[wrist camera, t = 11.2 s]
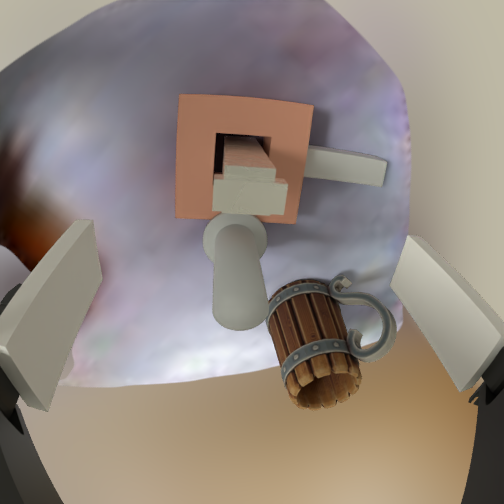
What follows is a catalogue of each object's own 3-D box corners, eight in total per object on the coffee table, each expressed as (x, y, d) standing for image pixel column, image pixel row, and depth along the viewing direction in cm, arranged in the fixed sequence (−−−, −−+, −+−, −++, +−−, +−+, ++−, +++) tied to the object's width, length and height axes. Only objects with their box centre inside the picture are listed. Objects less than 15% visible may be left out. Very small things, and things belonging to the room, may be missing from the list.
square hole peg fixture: (181, 241, 36) (160, 338, 22) (186, 94, 27) (149, 93, 13) (353, 249, 38) (410, 333, 25) (381, 120, 30) (477, 151, 16)
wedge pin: (217, 164, 31) (211, 220, 18) (218, 135, 30) (214, 169, 17) (257, 166, 32) (282, 223, 19) (260, 138, 30) (289, 174, 17)
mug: (297, 342, 46) (318, 422, 33) (248, 311, 42) (259, 401, 29) (373, 279, 41) (421, 353, 28) (332, 236, 37) (382, 314, 24)
